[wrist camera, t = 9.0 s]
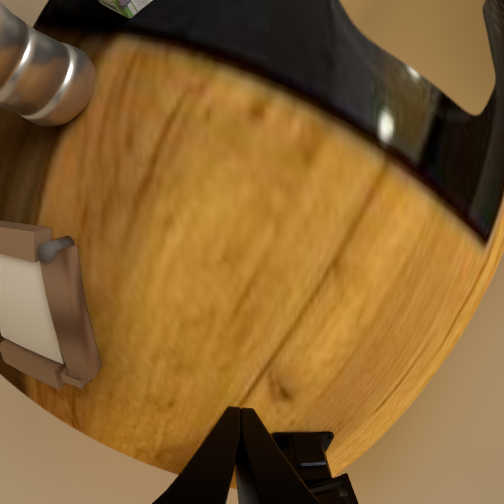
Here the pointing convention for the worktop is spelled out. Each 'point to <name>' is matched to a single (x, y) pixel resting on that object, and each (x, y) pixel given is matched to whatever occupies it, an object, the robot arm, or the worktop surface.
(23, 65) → the silver metal bottle
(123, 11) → the syrup box
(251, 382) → the worktop surface
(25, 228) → the seat
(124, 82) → the worktop surface
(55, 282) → the leg
